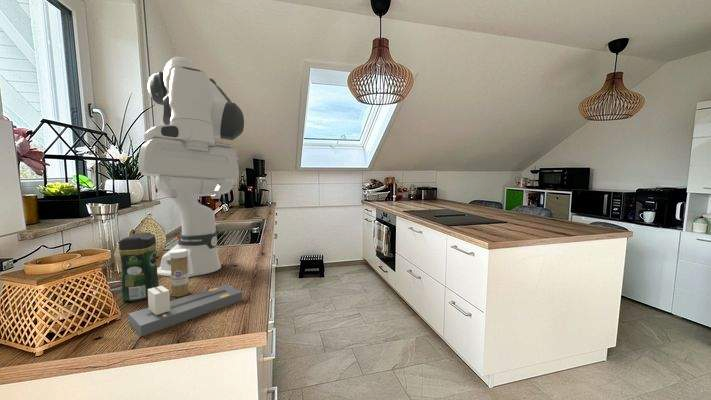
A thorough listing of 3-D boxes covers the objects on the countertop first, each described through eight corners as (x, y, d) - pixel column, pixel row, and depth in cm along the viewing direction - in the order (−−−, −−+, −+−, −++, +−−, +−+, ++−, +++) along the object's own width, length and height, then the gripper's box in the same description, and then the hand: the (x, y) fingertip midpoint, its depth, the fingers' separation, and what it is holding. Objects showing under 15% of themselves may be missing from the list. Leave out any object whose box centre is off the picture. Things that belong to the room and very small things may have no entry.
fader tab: (155, 315, 66) (154, 294, 66) (148, 309, 69) (147, 288, 69) (170, 310, 69) (169, 290, 68) (162, 304, 72) (161, 285, 71)
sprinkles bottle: (172, 298, 82) (170, 253, 81) (171, 293, 86) (169, 249, 85) (190, 294, 85) (188, 250, 84) (188, 289, 89) (187, 247, 88)
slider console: (140, 336, 63) (140, 325, 62) (129, 323, 68) (128, 313, 68) (242, 300, 81) (242, 291, 81) (226, 292, 87) (226, 284, 87)
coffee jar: (132, 290, 88) (129, 231, 86) (162, 288, 90) (159, 230, 89) (116, 304, 78) (112, 238, 77) (149, 300, 81) (146, 236, 79)
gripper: (229, 147, 75) (231, 199, 74) (134, 132, 59) (136, 199, 58) (242, 142, 71) (245, 197, 70) (145, 124, 55) (147, 196, 54)
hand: (195, 198), depth 64 cm, fingers open, 8 cm apart
